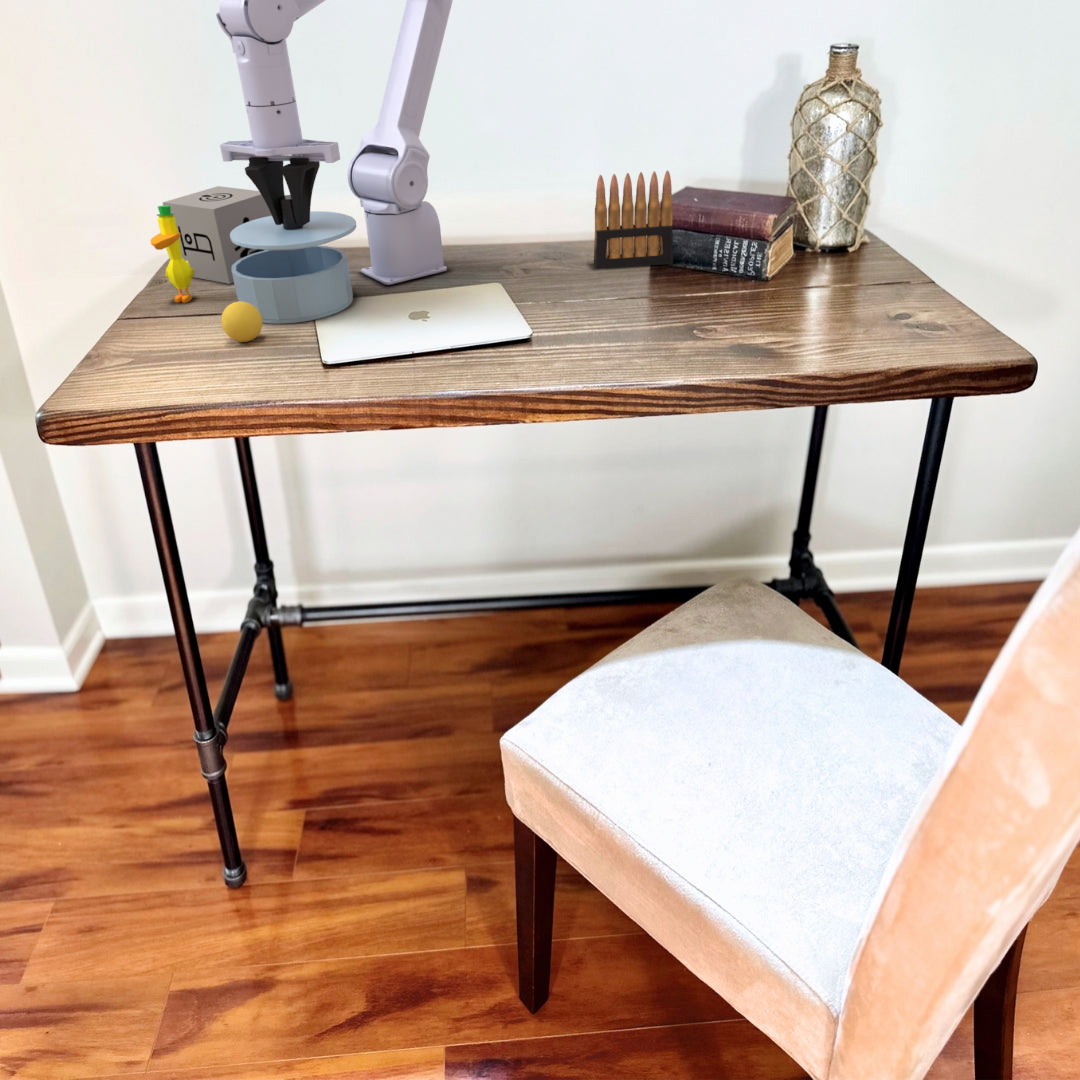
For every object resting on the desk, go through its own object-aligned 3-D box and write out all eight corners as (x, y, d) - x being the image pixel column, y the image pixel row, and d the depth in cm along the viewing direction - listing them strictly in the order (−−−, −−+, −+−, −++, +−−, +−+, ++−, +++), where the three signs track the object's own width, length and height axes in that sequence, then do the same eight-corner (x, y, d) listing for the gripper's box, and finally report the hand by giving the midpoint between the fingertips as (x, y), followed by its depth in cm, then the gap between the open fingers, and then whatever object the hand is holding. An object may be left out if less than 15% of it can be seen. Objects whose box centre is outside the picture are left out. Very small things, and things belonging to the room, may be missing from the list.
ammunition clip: (670, 259, 133) (673, 168, 127) (673, 263, 132) (676, 171, 125) (593, 264, 133) (592, 173, 126) (595, 268, 131) (594, 176, 125)
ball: (257, 330, 117) (249, 293, 114) (271, 340, 114) (264, 302, 111) (220, 339, 115) (211, 302, 112) (234, 350, 112) (225, 312, 109)
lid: (325, 213, 128) (320, 176, 125) (378, 236, 117) (373, 196, 115) (214, 236, 121) (205, 197, 118) (259, 263, 110) (250, 221, 108)
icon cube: (180, 274, 138) (162, 202, 132) (233, 255, 145) (218, 186, 139) (229, 283, 133) (213, 209, 127) (281, 263, 140) (268, 192, 135)
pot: (324, 279, 133) (317, 238, 130) (372, 305, 123) (366, 262, 120) (224, 302, 126) (214, 260, 123) (266, 332, 116) (257, 287, 113)
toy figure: (183, 309, 125) (159, 214, 118) (157, 309, 125) (132, 214, 119) (207, 292, 130) (185, 200, 124) (182, 292, 131) (160, 200, 124)
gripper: (196, 108, 110) (222, 230, 117) (311, 108, 106) (331, 234, 113) (229, 98, 115) (252, 214, 123) (340, 97, 111) (357, 218, 119)
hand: (292, 223), depth 118 cm, fingers closed on lid, 2 cm apart
